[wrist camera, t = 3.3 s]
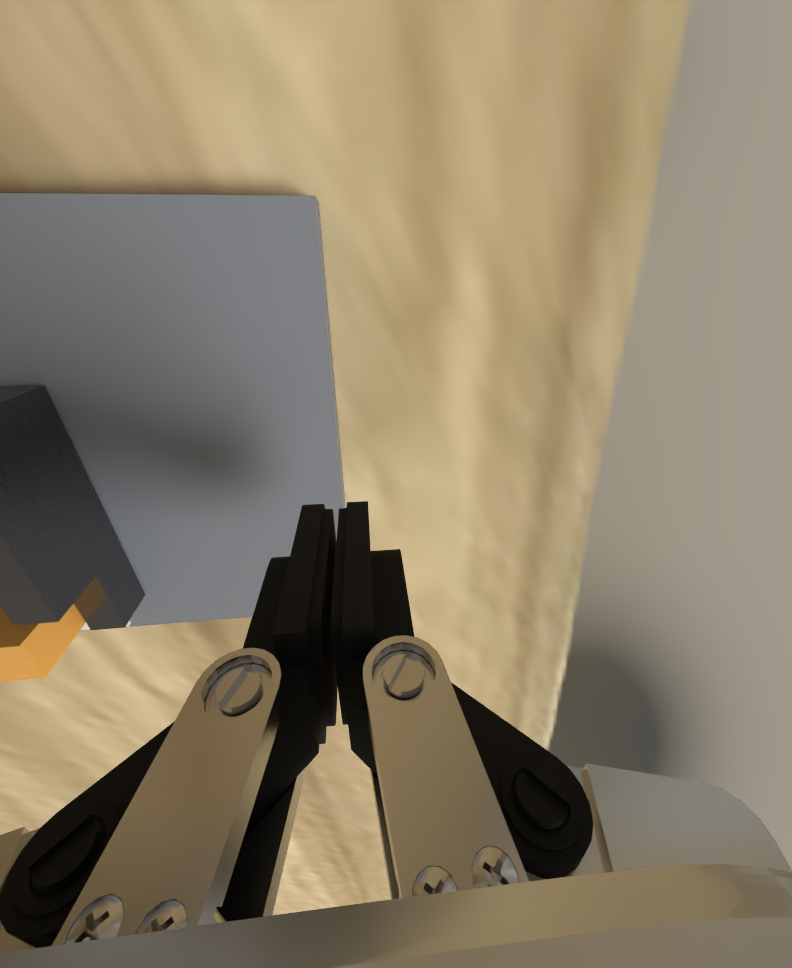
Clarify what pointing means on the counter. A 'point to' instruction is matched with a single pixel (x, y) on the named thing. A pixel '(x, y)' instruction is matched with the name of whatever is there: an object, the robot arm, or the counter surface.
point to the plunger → (55, 524)
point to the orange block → (35, 645)
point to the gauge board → (181, 376)
